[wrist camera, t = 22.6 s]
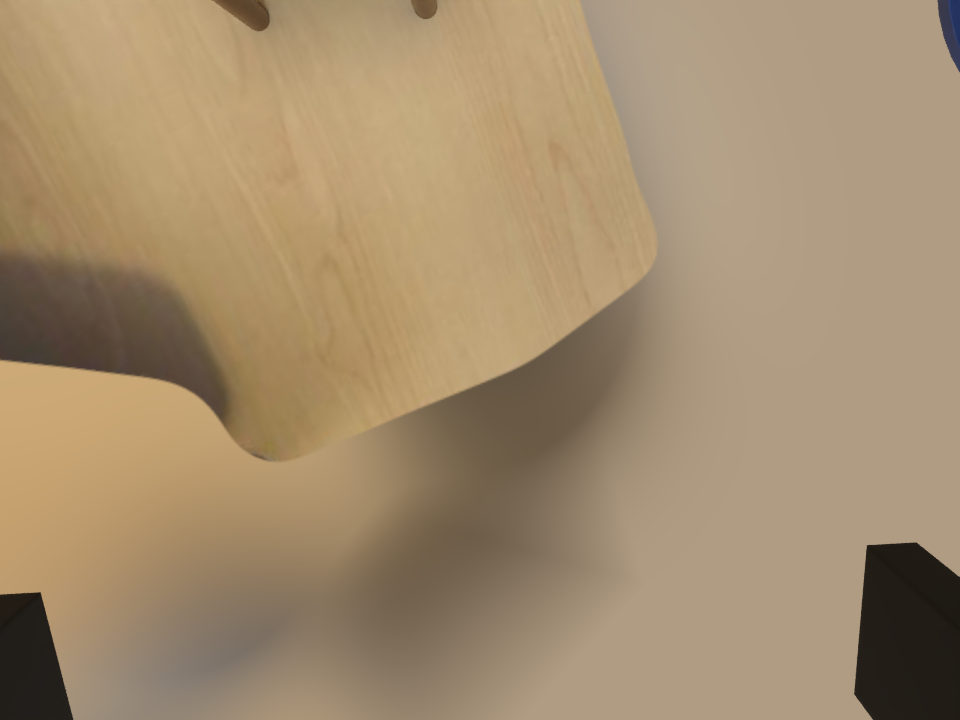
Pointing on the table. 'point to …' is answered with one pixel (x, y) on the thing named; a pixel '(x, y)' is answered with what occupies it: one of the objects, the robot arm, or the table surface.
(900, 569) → the robot arm
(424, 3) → the stool
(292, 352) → the table surface
